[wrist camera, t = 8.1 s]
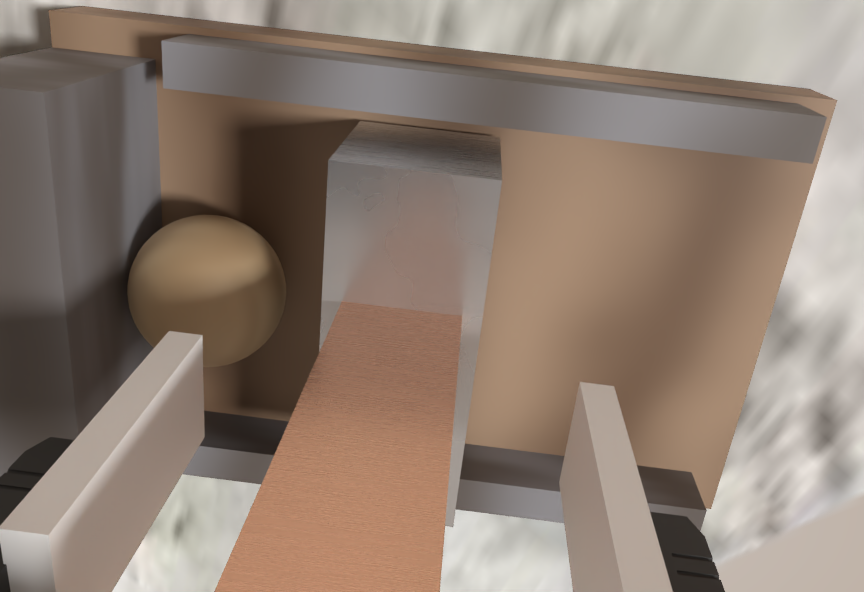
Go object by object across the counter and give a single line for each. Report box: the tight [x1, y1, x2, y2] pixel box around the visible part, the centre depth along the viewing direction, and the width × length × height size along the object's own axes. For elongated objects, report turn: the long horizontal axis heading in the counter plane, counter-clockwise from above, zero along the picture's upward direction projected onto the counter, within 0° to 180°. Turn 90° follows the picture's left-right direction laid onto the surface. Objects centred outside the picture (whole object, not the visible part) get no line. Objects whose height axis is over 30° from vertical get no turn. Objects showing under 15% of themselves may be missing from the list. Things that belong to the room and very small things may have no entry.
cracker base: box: [0, 6, 837, 531], centre depth 22 cm, size 22×14×8 cm, turn 84°
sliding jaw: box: [215, 121, 502, 592], centre depth 16 cm, size 4×10×17 cm, turn 174°
